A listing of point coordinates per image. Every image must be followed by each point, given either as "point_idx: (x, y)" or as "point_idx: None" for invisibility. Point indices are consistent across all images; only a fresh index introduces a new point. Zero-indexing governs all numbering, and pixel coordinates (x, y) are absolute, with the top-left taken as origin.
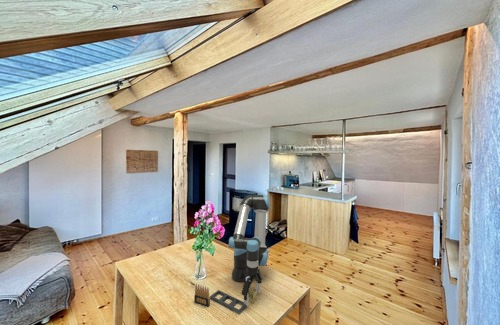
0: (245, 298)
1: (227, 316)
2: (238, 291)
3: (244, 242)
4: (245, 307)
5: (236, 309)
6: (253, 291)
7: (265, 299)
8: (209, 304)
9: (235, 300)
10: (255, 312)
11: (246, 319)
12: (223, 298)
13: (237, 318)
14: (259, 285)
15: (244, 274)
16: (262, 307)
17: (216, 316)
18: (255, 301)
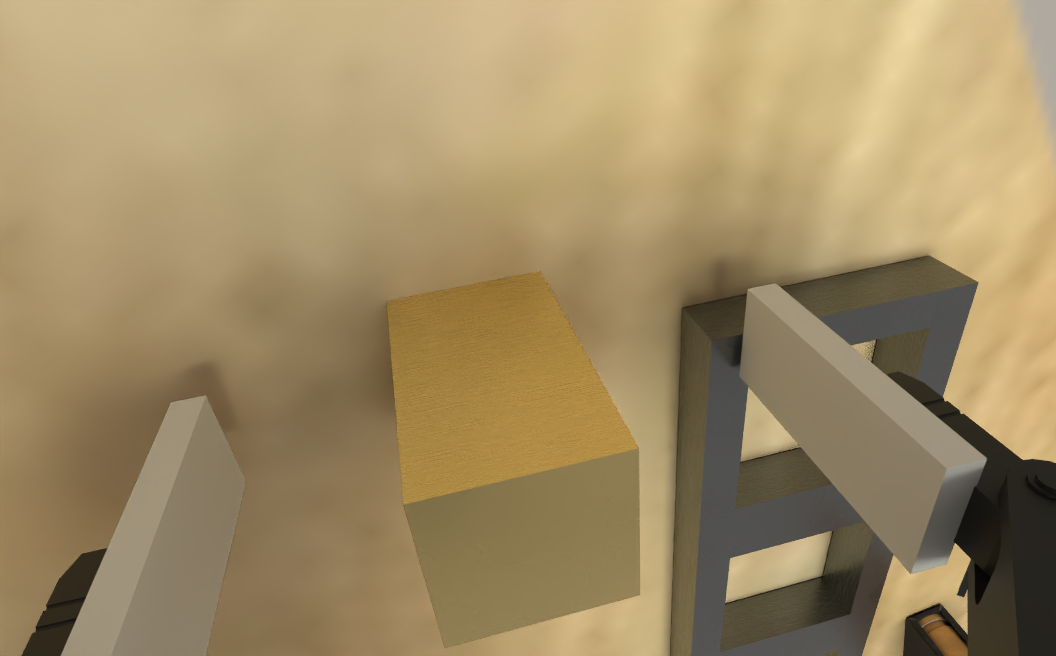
0: (951, 416)
1: (1018, 355)
2: (458, 652)
3: None
4: (743, 303)
5: (945, 356)
6: (565, 495)
7: (152, 156)
8: (914, 629)
9: (749, 524)
10: (740, 37)
11: (998, 57)
12: (798, 636)
13: (1018, 213)
14: (120, 609)
15: None
16: (483, 2)
17: (1053, 444)
18: (442, 291)
